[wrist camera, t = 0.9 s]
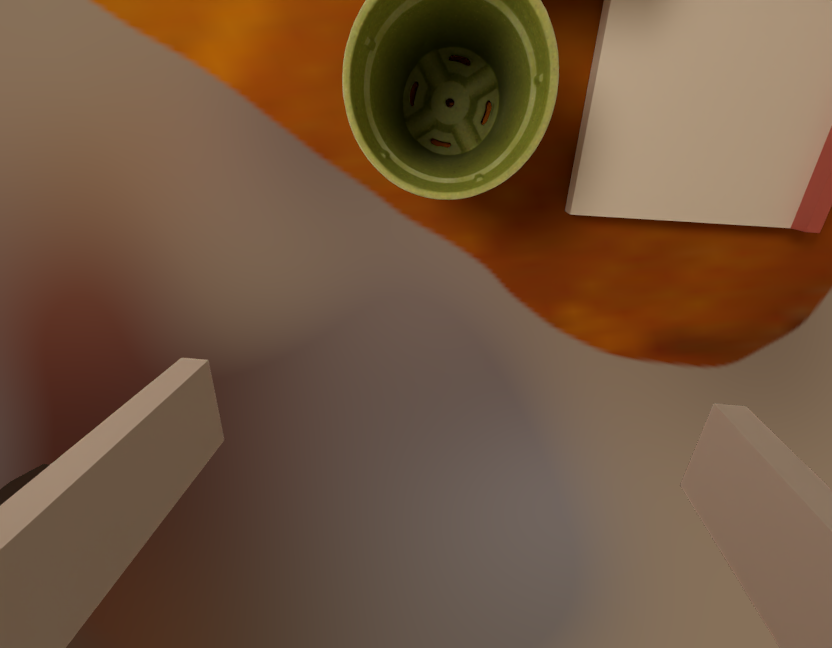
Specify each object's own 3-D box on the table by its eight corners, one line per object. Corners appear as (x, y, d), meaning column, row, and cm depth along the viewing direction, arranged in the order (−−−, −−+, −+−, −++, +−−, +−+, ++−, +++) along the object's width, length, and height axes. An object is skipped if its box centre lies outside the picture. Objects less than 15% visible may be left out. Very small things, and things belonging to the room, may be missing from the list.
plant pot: (550, 31, 24) (594, -24, 16) (504, 197, 28) (521, 218, 20) (391, -4, 24) (358, -75, 16) (367, 166, 28) (330, 176, 20)
